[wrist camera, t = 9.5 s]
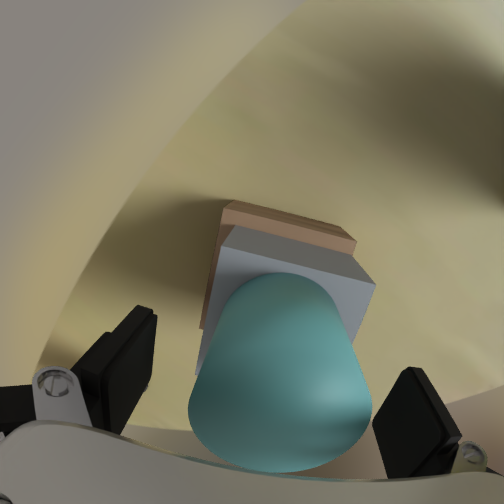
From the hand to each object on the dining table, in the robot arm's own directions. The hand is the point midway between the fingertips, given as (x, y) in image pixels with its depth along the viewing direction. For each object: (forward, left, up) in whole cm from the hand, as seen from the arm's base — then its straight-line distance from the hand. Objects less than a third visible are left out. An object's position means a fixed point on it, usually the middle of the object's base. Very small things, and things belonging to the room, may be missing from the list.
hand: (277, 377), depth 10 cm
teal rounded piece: (0, 0, -4) cm, 4 cm away
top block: (0, 0, -9) cm, 9 cm away
